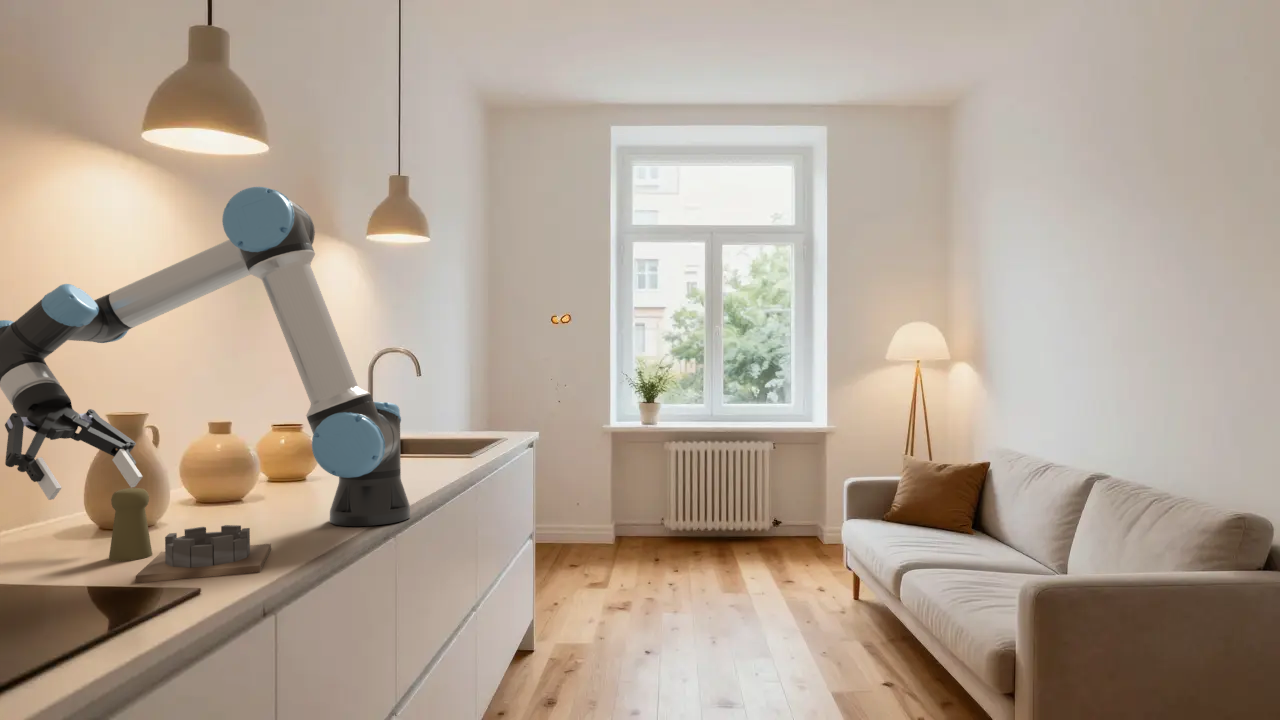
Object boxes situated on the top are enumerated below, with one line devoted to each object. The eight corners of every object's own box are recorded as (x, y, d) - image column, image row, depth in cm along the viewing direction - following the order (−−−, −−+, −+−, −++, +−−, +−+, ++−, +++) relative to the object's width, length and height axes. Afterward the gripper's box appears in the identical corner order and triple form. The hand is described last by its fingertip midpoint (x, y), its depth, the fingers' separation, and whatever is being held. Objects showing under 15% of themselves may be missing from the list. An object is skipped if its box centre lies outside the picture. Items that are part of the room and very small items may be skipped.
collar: (270, 549, 136) (270, 519, 136) (259, 572, 121) (259, 538, 121) (161, 558, 131) (161, 526, 131) (135, 582, 116) (135, 547, 116)
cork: (131, 562, 128) (131, 491, 128) (99, 560, 130) (98, 491, 130) (161, 553, 134) (160, 486, 134) (130, 552, 136) (129, 485, 136)
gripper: (97, 407, 152) (156, 491, 147) (-58, 415, 129) (4, 516, 123) (117, 378, 150) (177, 463, 145) (-37, 381, 127) (27, 482, 121)
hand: (98, 487), depth 134 cm, fingers open, 13 cm apart
